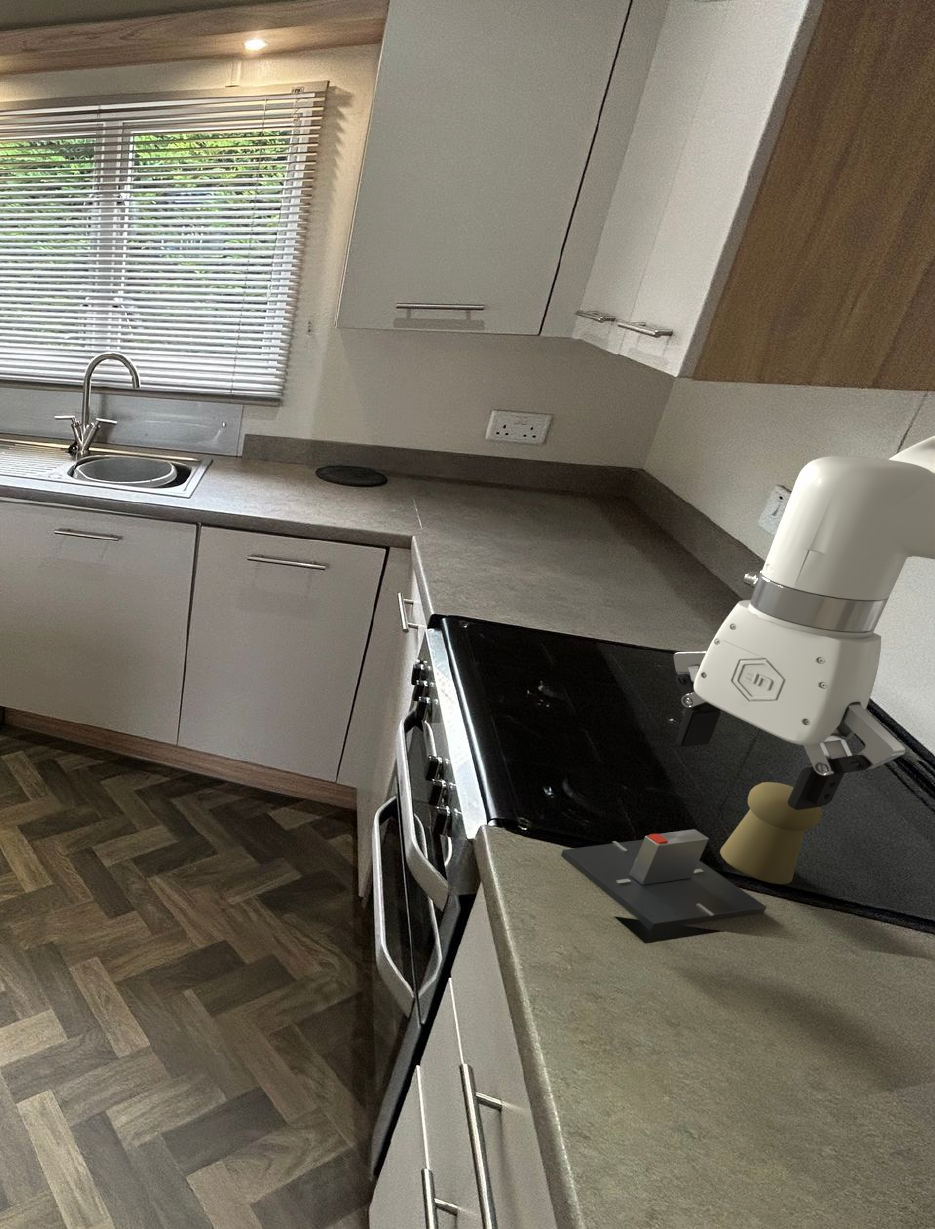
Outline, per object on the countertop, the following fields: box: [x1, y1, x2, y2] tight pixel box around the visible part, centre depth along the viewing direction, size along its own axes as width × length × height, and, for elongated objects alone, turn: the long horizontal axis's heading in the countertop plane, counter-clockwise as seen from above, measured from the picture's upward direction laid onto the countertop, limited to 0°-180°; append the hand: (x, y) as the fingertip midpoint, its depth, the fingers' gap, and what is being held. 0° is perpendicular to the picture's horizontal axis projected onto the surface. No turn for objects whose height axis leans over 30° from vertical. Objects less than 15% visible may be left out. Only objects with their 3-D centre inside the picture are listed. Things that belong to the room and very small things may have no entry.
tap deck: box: [560, 839, 767, 944], centre depth 76 cm, size 13×10×3 cm
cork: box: [719, 781, 822, 885], centre depth 78 cm, size 6×6×11 cm
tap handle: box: [630, 829, 710, 885], centre depth 75 cm, size 6×1×5 cm, turn 100°
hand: (744, 773), depth 70 cm, fingers open, 9 cm apart
